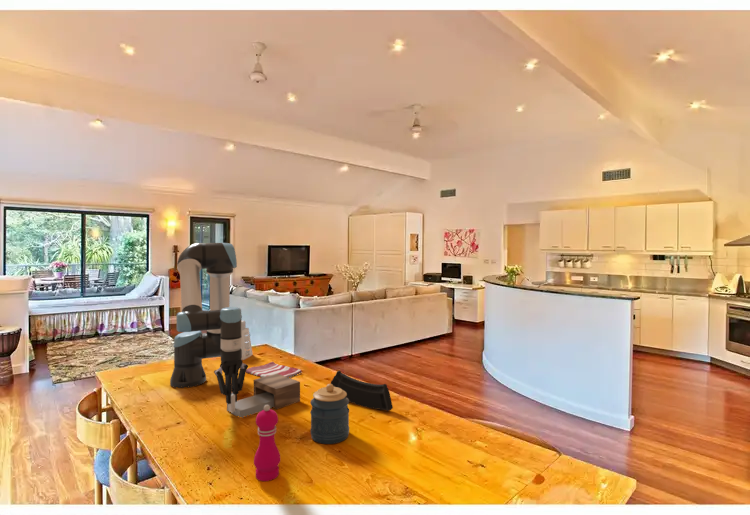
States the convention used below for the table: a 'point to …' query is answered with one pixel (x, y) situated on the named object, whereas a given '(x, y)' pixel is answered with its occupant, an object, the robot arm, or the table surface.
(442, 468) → the table surface
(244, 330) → the grater
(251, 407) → the tile
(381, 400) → the magazine
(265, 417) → the pepper mill
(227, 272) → the robot arm
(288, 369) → the dish towel
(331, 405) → the canister
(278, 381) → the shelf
